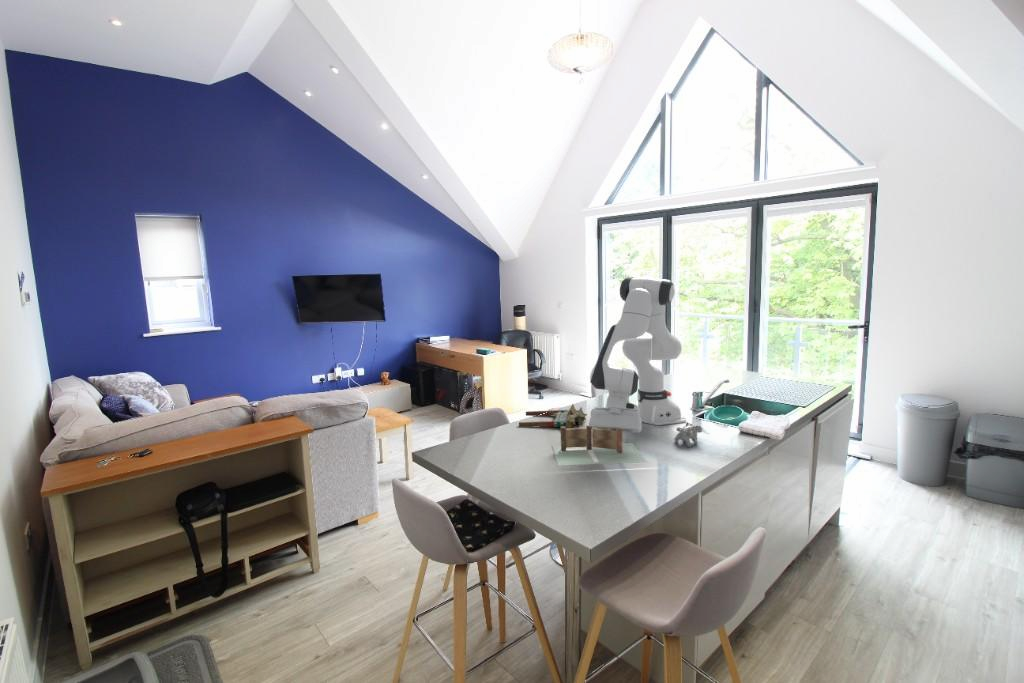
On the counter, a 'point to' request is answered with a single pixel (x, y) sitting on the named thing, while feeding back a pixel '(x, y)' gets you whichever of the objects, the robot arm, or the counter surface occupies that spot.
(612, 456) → the card
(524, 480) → the counter surface
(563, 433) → the fence fixed
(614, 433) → the fence panel
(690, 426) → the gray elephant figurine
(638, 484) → the counter surface
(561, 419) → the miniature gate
